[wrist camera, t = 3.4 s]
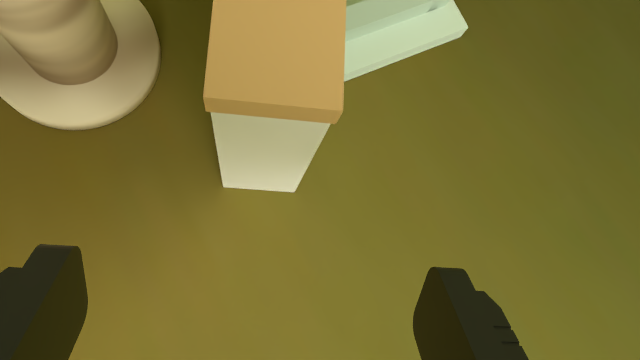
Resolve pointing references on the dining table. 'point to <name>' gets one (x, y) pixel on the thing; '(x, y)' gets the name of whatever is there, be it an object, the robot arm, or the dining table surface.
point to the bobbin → (77, 60)
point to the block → (273, 86)
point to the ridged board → (396, 31)
